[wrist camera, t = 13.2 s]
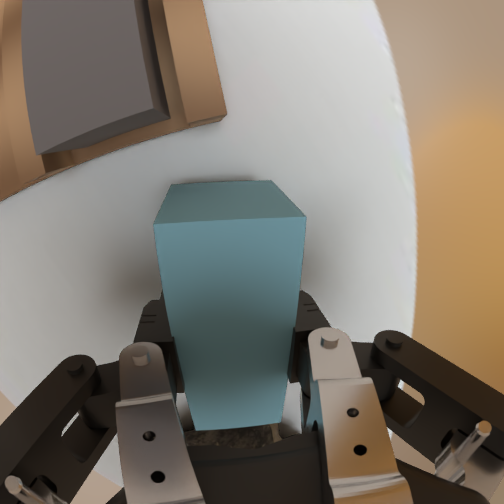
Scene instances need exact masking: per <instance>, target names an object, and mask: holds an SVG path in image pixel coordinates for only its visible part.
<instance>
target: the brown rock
mask: <svg viewBox="0 0 504 504" xmlns="http://www.w3.org/2000/svg"><path fill="white" fill-rule="evenodd" d="M279 431H280V430H279V428H278V423H273V424H266V425H258V426H249V427H240V428H229V429H216V430H196V429H195V430H192V431H187V432H184V435H185V438H186V441H187V445H188V446H202V445H217V446H224V447H232V448H241V449H258V448H261V447H264V446H266V445H269V444H272V443H274V442H277V441H280V440H282V438H281V437H280V436H279V433H278V432H279Z"/></svg>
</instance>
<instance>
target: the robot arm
mask: <svg viewBox="0 0 504 504" xmlns="http://www.w3.org/2000/svg"><path fill="white" fill-rule="evenodd" d="M287 376H288V379H289V382H290V383H295V382H300V385H301V391H300V407H301V427H302V434H298V435H293V436H290V437H287V438H285V439H282V440H280V441H277V442H274V443H272V444H269V445H266V446H264V447H261V448H258V449H241V448H232V447H224V446H217V445H202V446H188V445H187V441H186V438H185V435H184V431H183V428H182V425H181V421H180V418H179V414H178V410H177V407H176V396H177V393H185V383H184V379H183V374H182V370H181V366H180V361H179V357H178V352H177V348H176V343H175V338H174V336H173V337H172V335H171V330H170V325H169V320H168V315H167V310H166V305H165V299H164V294H163V289H162V293H161V297H160V300H151V301H150V302H149V303H148V304H147V305H146V306H145V307H144V308H143V311H142V315H141V318H140V321H139V325H138V328H137V331H136V335H135V338H134V342H133V344H131V345H129V346H127V347H126V348H125V349H123V351H122V352H121V353H120V356H119V360H118V361H116V362H112V363H108V364H103V365H98V366H96V363H95V361H94V360H93V359H92V358H91V357H89V356H87V355H74V356H70V357H68V358H66V359H65V360H63V361H62V362H61V363H60V364H59V365H58V366H57V367H56V368H55V369H54V370H53V371H52V372H51V373H50V374H49V375H48V376H47V377H46V378H45V379H44V380H43V381H42V382H41V383H40V384H39V385H38V386H37V387H36V388H35V389H34V390H33V391H32V392H31V393H30V394H29V395H28V396H27V397H26V399H25V400H24V401H23V402H22V403H21V404H20V405H19V406H18V407H17V408H16V409H15V410H14V411H13V412H12V413H11V415H10V416H9V417H8V418H7V419H6V420H5V421H4V422H3V423H2V424H1V426H0V504H70V503H71V501H72V500H73V498H74V497H75V495H76V494H77V492H78V490H79V489H80V487H81V486H82V484H83V483H84V481H85V480H86V478H87V477H88V475H89V474H90V472H91V470H92V469H93V468H94V466H95V465H96V463H97V462H98V460H99V459H100V457H101V456H102V454H103V453H104V451H105V450H106V448H107V447H108V445H109V444H110V442H111V441H112V439H113V438H114V436H115V435H116V433H117V435H118V445H119V454H120V462H121V469H122V476H123V482H124V487H123V488H122V489H121V490H120V491H119V492H118V493H117V494H116V495H115V496H114V497H112V498H111V499H110V500H109V501H108V502H107V503H106V504H490V503H489V500H490V498H491V497H492V495H493V494H494V492H495V490H496V489H497V487H498V485H499V484H500V482H501V480H502V478H503V476H504V395H503V394H502V393H500V392H498V391H497V390H495V389H493V388H492V387H490V386H489V385H487V384H485V383H484V382H482V381H481V380H479V379H477V378H476V377H474V376H473V375H471V374H469V373H467V372H466V371H464V370H463V369H461V368H459V367H458V366H456V365H455V364H453V363H451V362H450V361H448V360H446V359H445V358H443V357H441V356H440V355H438V354H436V353H435V352H433V351H431V350H430V349H428V348H427V347H425V346H423V345H422V344H420V343H418V342H417V341H415V340H413V339H412V338H410V337H409V336H407V335H405V334H403V333H401V332H398V331H394V330H386V331H381V332H379V333H378V334H377V335H376V336H375V338H374V342H373V343H361V342H352V341H351V340H350V338H349V336H348V335H347V334H346V333H345V332H343V331H341V330H339V329H336V328H332V327H331V326H330V324H329V323H328V321H327V320H326V318H325V317H324V315H323V314H322V312H321V310H319V307H318V306H317V304H316V303H315V301H314V300H313V298H312V297H311V296H310V295H309V294H307V293H306V292H304V291H302V290H300V291H299V299H298V307H297V316H296V324H295V327H293V334H292V341H291V349H290V356H289V364H288V371H287ZM400 379H401V380H402V381H404V382H405V383H407V384H408V385H410V386H411V387H412V388H414V389H416V390H417V391H418V392H420V393H421V394H422V395H423V397H424V400H425V404H424V405H422V404H421V403H419V402H418V401H417V400H415V399H414V398H412V397H411V396H409V395H408V394H407V393H405V392H404V391H403V390H401V389H400V388H398V387H397V386H398V384H399V382H400ZM77 412H78V414H79V416H78V417H77V418H76V419H75V421H74V422H73V423H72V424H71V426H70V427H69V428H68V429H67V431H66V432H65V433H64V434H63V436H62V437H61V435H62V431H63V429H64V428H65V426H66V425H67V424H68V423H69V421H70V420H71V419H72V418H73V416H74V415H75V414H76V413H77ZM387 427H388V428H389V429H390V430H392V431H393V432H394V433H395V434H397V435H398V436H399V437H400V438H402V439H403V440H404V441H405V442H407V443H408V444H409V445H411V446H412V447H413V448H414V449H416V450H417V451H419V452H420V453H421V454H422V455H424V456H425V457H426V458H428V459H429V460H430V461H431V462H433V463H434V464H435V469H436V472H435V475H433V474H431V473H428V472H426V471H423V470H421V469H419V468H416V467H414V466H412V465H409V464H407V463H405V462H403V461H401V460H399V459H396V458H395V456H394V452H393V448H392V445H391V441H390V437H389V433H388V430H387Z"/></svg>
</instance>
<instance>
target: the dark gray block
mask: <svg viewBox="0 0 504 504" xmlns="http://www.w3.org/2000/svg"><path fill="white" fill-rule="evenodd" d="M21 45H22V66H23V78H24V88H25V96H26V104H27V111H28V117H29V123H30V128H31V134H32V139H33V143H34V148H35V153H36V155H42V154H47V153H53V152H59V151H65V150H72V149H79V148H86V147H89V146H91V145H94V144H96V143H99V142H101V141H104V140H107V139H109V138H112V137H115V136H118V135H121V134H123V133H126V132H129V131H132V130H135V129H138V128H141V127H145V126H148V125H151V124H154V123H158V122H161V121H164V120H168V119H171V116H170V112H169V107H168V103H167V98H166V94H165V89H164V84H163V79H162V75H161V70H160V65H159V60H158V55H157V49H156V44H155V39H154V33H153V28H152V22H151V16H150V11H149V4H148V0H22V19H21Z"/></svg>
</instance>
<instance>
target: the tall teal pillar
mask: <svg viewBox="0 0 504 504" xmlns="http://www.w3.org/2000/svg"><path fill="white" fill-rule="evenodd" d="M153 226H154V234H155V242H156V249H157V256H158V263H159V270H160V276H161V282H162V288H163V294H164V299H165V305H166V310H167V315H168V320H169V325H170V330H171V335H172V337H173V336H174V338H175V343H176V348H177V352H178V357H179V361H180V366H181V370H182V374H183V379H184V383H185V394H186V398H187V401H188V405H189V409H190V412H191V416H192V419H193V423H194V426H195V429H196V430H216V429H229V428H240V427H249V426H258V425H266V424H273V423H279V422H281V418H282V412H283V406H284V400H285V394H286V387H287V381H288V376H287V371H288V364H289V356H290V349H291V341H292V334H293V327H295V324H296V316H297V307H298V299H299V290H300V281H301V271H302V261H303V251H304V240H305V229H306V216H305V215H304V214H303V213H302V212H301V211H300V209H299V208H298V207H297V206H296V205H295V204H294V203H293V202H292V201H291V200H290V199H289V198H288V197H287V196H286V195H285V194H284V193H283V192H282V191H281V190H280V189H279V188H278V187H277V186H276V185H275V184H274V183H273V182H272V181H271V180H266V181H228V182H206V183H188V184H173V185H171V186H170V189H169V191H168V193H167V195H166V197H165V199H164V201H163V204H162V206H161V208H160V210H159V212H158V215H157V217H156V219H155V221H154V224H153Z"/></svg>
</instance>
